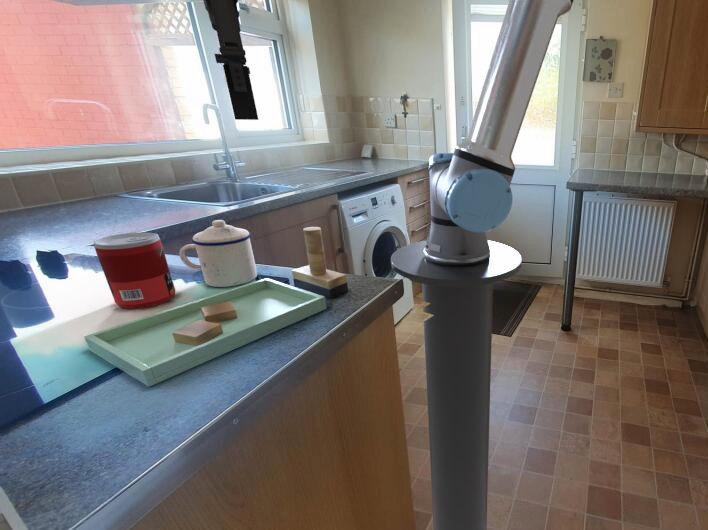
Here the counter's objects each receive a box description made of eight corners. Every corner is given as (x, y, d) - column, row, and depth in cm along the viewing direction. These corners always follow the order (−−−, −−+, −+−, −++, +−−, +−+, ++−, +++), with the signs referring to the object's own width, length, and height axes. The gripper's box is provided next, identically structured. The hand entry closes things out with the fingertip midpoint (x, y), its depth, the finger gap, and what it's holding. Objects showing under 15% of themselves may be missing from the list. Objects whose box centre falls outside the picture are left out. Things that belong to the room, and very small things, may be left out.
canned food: (185, 297, 72) (167, 237, 67) (127, 314, 65) (103, 248, 61) (165, 287, 75) (146, 229, 71) (108, 302, 69) (84, 239, 65)
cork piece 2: (232, 309, 67) (230, 300, 66) (237, 318, 64) (235, 309, 64) (202, 315, 64) (200, 307, 64) (206, 325, 62) (204, 316, 61)
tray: (269, 289, 77) (266, 277, 76) (326, 308, 70) (325, 296, 69) (89, 350, 56) (83, 336, 55) (148, 387, 49) (142, 371, 48)
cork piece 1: (200, 328, 61) (198, 319, 60) (223, 332, 60) (221, 323, 59) (174, 342, 57) (171, 332, 56) (198, 346, 56) (195, 337, 56)
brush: (312, 280, 81) (303, 222, 77) (348, 291, 77) (340, 230, 73) (294, 286, 78) (283, 226, 73) (330, 298, 74) (321, 235, 69)
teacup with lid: (264, 269, 85) (252, 214, 81) (252, 286, 77) (238, 226, 73) (197, 273, 82) (181, 216, 78) (177, 291, 74) (158, 228, 70)
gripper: (182, -38, 60) (219, 117, 69) (154, -109, 41) (211, 119, 49) (241, -28, 64) (270, 118, 72) (242, -89, 45) (281, 120, 53)
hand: (246, 119), depth 61 cm, fingers open, 13 cm apart
